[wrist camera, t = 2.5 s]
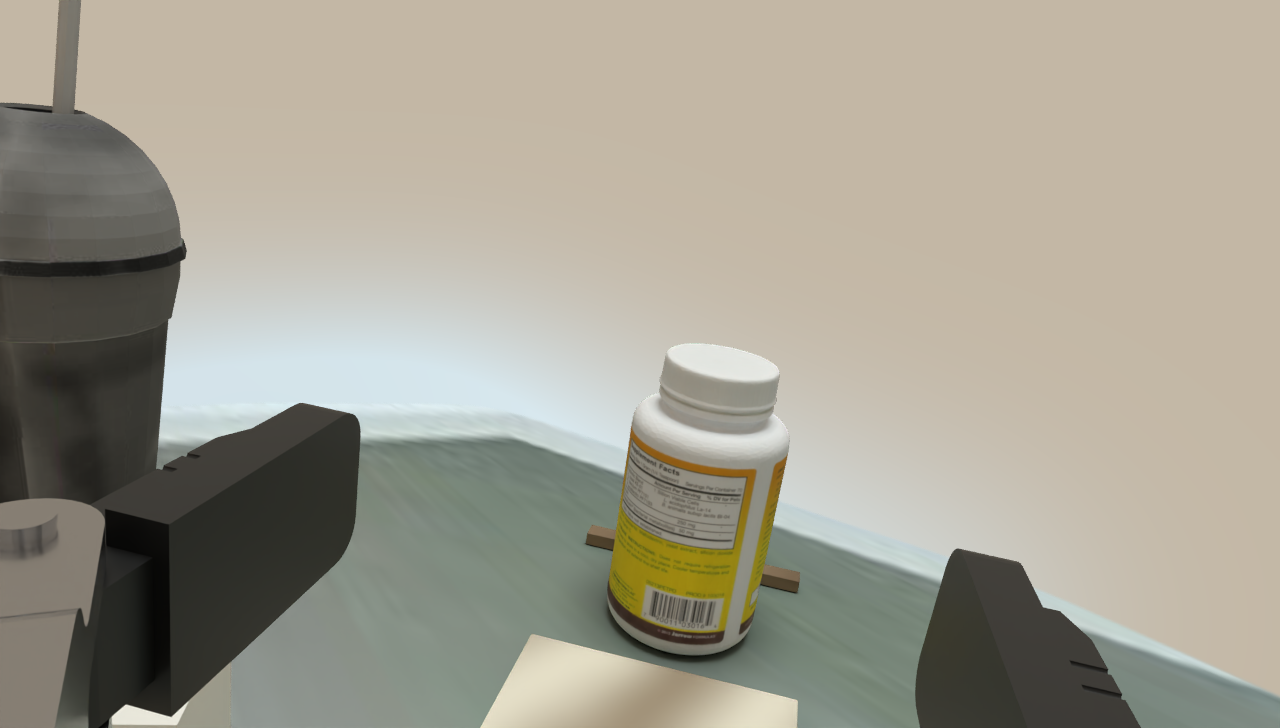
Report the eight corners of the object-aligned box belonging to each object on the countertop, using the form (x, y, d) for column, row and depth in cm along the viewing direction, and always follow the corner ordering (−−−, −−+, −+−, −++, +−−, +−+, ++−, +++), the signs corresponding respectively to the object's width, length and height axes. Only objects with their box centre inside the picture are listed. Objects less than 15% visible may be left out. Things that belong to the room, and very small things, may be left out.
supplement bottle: (693, 566, 36) (737, 333, 33) (780, 643, 31) (839, 383, 28) (576, 590, 33) (613, 337, 30) (654, 680, 28) (706, 393, 25)
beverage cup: (-130, 599, 26) (-227, -115, 21) (89, 509, 33) (62, -51, 27) (39, 679, 24) (-16, -92, 18) (237, 566, 31) (243, -28, 25)
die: (230, 740, 23) (231, 603, 22) (179, 868, 20) (176, 711, 18) (68, 740, 22) (59, 597, 21) (-18, 872, 19) (-35, 708, 17)
